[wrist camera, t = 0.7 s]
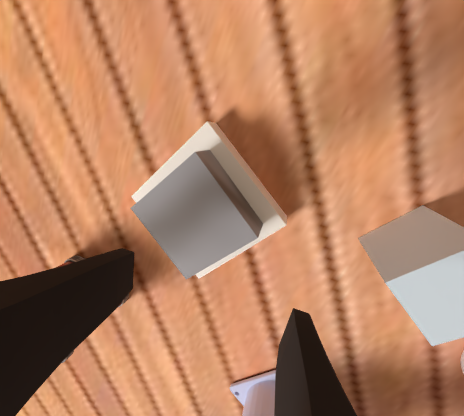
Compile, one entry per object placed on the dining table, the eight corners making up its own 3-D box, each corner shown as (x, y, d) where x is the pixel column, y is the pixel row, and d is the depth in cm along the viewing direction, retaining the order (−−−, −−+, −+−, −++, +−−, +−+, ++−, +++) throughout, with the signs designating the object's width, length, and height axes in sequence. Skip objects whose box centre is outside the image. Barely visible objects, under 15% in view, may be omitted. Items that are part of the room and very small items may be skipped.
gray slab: (263, 223, 16) (258, 238, 14) (199, 261, 19) (186, 279, 16) (209, 149, 16) (194, 151, 13) (151, 199, 18) (130, 208, 16)
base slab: (287, 213, 18) (286, 225, 16) (209, 263, 22) (198, 278, 19) (218, 123, 17) (207, 121, 15) (149, 189, 21) (131, 196, 19)
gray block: (458, 256, 15) (539, 316, 10) (391, 283, 17) (431, 346, 12) (422, 204, 15) (488, 240, 10) (357, 238, 17) (385, 282, 12)
